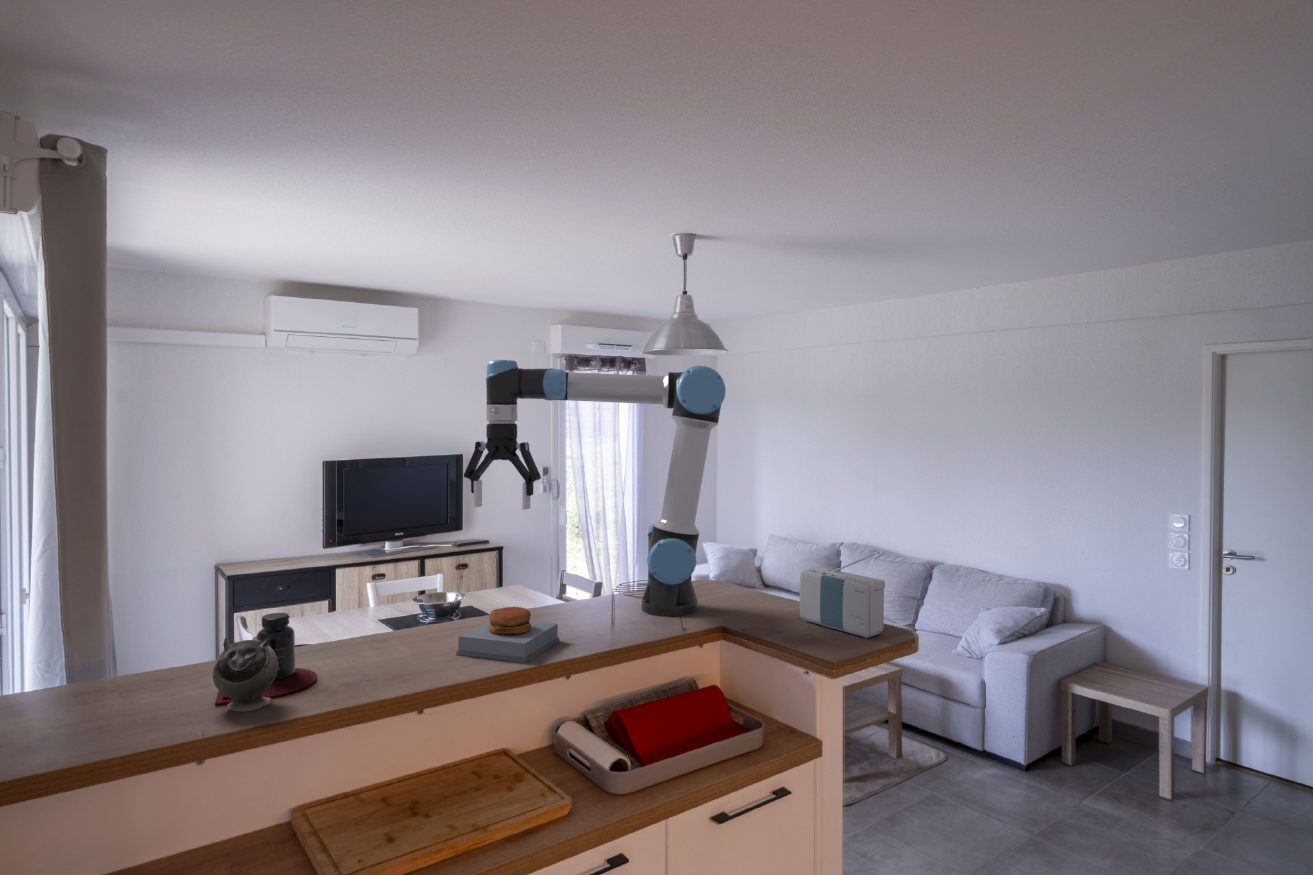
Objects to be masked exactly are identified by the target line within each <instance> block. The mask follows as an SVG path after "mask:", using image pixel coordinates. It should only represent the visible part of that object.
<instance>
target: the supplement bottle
mask: <svg viewBox="0 0 1313 875" xmlns="http://www.w3.org/2000/svg"><path fill="white" fill-rule="evenodd" d="M289 617H290V615H289V613H286V612H272V613H268V614H264V615H263V616H261V629H260V630H259V631H258V633H257V634H256V638H255V640H257V641H261V642H262V641H263V639H264V638H265V637H269V636H270V638H271V642H270V645H268V646H269V647H271V648H272V649H273V651H274V652H275V654H276V656H277V660H278V671H277V675H276V677H275V679H274V681H277V680H283V679H286V678H288V677H291V676H292V675H293V674H294V673H295V672H296V651H295V650H296V642H295V641H296V640H295V638H296V637H295V634H296V633H295V629H294V628H293V627H292V626H290V625H289V624H290V618H289Z"/></svg>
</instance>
